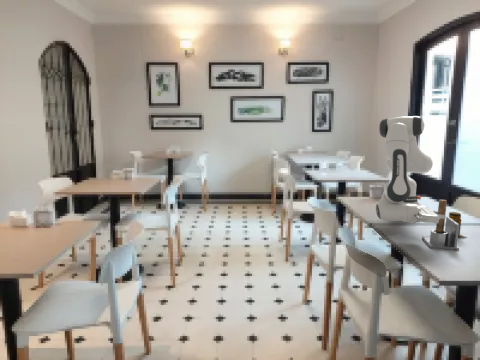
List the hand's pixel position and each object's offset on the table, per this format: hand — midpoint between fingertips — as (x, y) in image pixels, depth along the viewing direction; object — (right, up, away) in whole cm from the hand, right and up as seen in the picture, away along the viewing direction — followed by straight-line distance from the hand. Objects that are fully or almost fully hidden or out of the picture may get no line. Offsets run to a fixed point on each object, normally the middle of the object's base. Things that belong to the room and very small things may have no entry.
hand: (443, 215), depth 169 cm
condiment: (+15, -12, +16) cm, 25 cm away
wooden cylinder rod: (-1, -9, +2) cm, 9 cm away
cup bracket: (-1, -14, +3) cm, 14 cm away
